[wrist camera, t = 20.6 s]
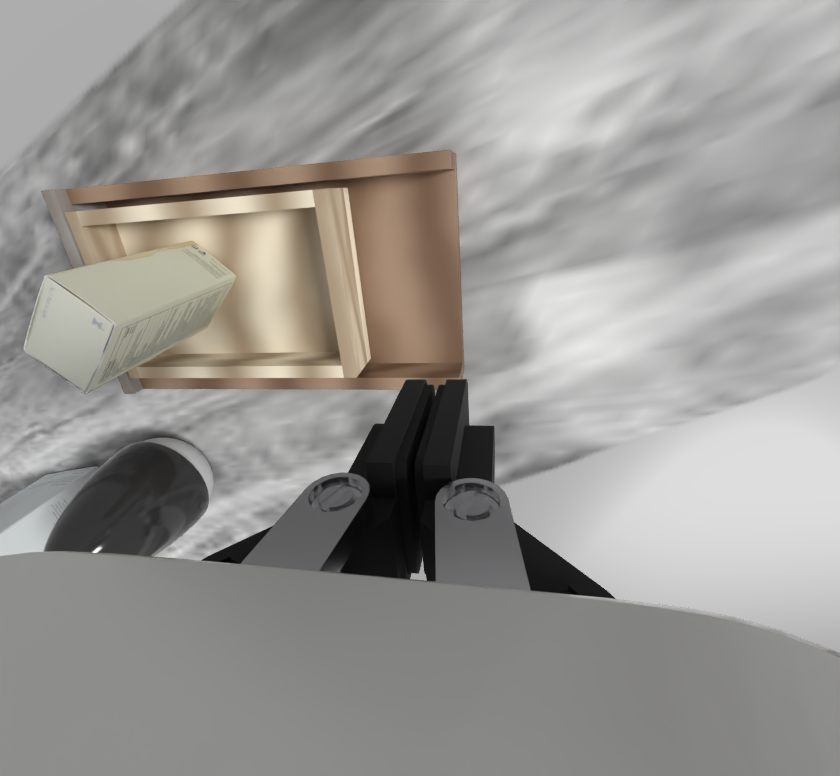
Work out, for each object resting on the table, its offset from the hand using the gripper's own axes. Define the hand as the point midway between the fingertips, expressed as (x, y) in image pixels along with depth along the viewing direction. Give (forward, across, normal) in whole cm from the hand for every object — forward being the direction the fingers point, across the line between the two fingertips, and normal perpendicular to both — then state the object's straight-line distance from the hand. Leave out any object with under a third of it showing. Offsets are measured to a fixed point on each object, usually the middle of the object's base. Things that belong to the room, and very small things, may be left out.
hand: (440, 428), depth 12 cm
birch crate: (+22, +19, 0) cm, 29 cm away
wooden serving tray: (+23, +16, 0) cm, 28 cm away
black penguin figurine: (+23, +32, +19) cm, 44 cm away
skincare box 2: (+21, +22, 0) cm, 31 cm away
